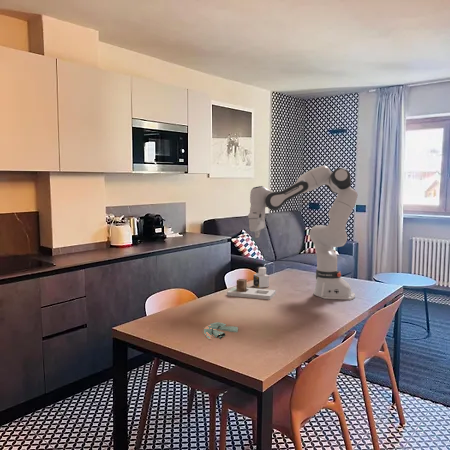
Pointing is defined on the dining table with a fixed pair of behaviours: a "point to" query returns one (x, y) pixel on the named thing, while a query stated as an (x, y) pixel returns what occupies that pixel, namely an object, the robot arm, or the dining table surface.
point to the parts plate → (252, 293)
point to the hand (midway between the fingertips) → (257, 237)
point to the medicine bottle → (261, 278)
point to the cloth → (221, 327)
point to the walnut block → (241, 285)
